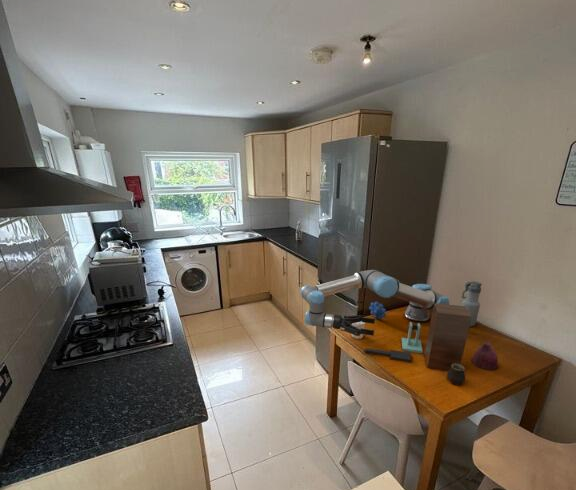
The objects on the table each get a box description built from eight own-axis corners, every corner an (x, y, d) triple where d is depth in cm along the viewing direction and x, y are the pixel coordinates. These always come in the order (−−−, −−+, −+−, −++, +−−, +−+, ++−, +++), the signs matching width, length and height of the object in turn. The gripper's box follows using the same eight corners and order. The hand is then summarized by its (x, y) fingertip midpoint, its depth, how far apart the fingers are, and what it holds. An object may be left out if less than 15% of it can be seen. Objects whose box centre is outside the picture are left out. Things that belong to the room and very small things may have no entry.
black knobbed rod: (407, 329, 177) (408, 323, 178) (414, 330, 176) (414, 324, 177) (411, 330, 163) (411, 323, 163) (418, 331, 162) (418, 324, 162)
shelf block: (424, 354, 160) (434, 303, 150) (453, 359, 156) (465, 306, 146) (427, 367, 149) (437, 312, 139) (458, 372, 145) (471, 316, 135)
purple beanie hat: (483, 376, 148) (488, 354, 140) (467, 362, 157) (470, 340, 149) (501, 368, 149) (506, 346, 142) (484, 355, 158) (488, 333, 151)
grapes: (365, 318, 201) (367, 302, 197) (369, 315, 206) (371, 298, 202) (382, 323, 195) (384, 306, 190) (386, 319, 200) (388, 303, 195)
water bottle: (454, 321, 197) (462, 281, 188) (464, 318, 201) (473, 279, 191) (468, 328, 189) (478, 286, 179) (478, 325, 192) (488, 283, 183)
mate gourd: (456, 375, 143) (460, 357, 140) (468, 386, 136) (472, 367, 133) (442, 377, 142) (446, 359, 139) (453, 387, 135) (457, 369, 132)
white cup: (358, 340, 174) (359, 325, 170) (347, 335, 179) (349, 320, 176) (366, 336, 178) (368, 321, 175) (356, 331, 184) (357, 316, 181)
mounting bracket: (401, 339, 175) (404, 318, 170) (420, 342, 172) (423, 320, 167) (402, 350, 164) (406, 328, 159) (422, 353, 161) (426, 330, 156)
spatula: (365, 348, 166) (365, 345, 166) (409, 355, 160) (410, 352, 159) (364, 355, 160) (364, 352, 159) (410, 362, 154) (411, 359, 153)
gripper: (336, 318, 175) (374, 323, 169) (329, 338, 153) (372, 345, 147) (337, 306, 173) (375, 310, 167) (330, 325, 150) (374, 331, 144)
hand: (374, 327), depth 157 cm, fingers open, 13 cm apart
